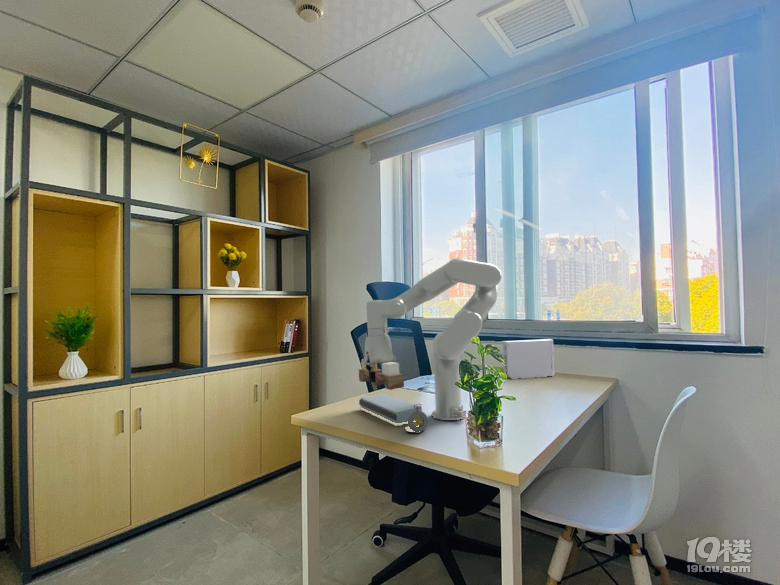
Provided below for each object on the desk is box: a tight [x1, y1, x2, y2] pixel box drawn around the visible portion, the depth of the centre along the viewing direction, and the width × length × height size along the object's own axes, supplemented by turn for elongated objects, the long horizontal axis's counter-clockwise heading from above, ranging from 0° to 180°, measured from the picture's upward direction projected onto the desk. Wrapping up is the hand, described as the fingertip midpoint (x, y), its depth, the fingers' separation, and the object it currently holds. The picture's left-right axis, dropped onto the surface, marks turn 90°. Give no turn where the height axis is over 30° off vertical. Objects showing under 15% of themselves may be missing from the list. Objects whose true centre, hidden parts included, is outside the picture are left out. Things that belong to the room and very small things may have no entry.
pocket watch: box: [407, 403, 429, 432], centre depth 127 cm, size 8×8×10 cm
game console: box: [502, 338, 555, 380], centre depth 209 cm, size 6×27×20 cm, turn 98°
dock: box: [358, 393, 423, 423], centre depth 146 cm, size 26×12×5 cm, turn 33°
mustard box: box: [361, 358, 378, 371], centre depth 151 cm, size 4×4×4 cm
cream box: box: [381, 361, 400, 376], centre depth 138 cm, size 4×4×4 cm
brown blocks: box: [358, 368, 405, 390], centre depth 144 cm, size 22×6×4 cm, turn 34°
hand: (380, 379), depth 144 cm, fingers closed on brown blocks, 6 cm apart
